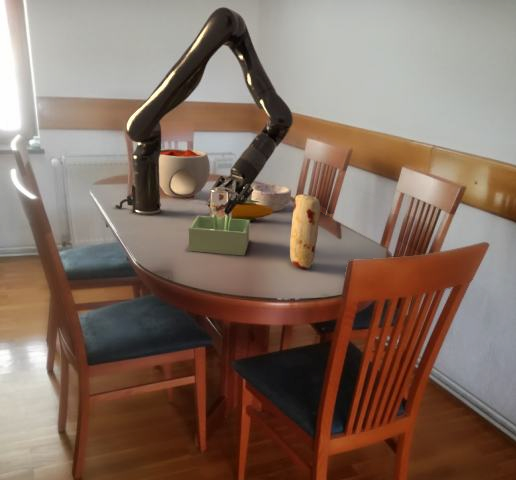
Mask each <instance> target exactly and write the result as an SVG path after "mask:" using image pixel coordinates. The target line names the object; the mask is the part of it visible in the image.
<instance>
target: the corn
mask: <svg viewBox="0 0 516 480" xmlns="http://www.w3.org/2000/svg"><path fill="white" fill-rule="evenodd" d="M254 202H259V201H254V200H252V199H247V200H246V201H245V203H244V204H243V205H240V204H238V205H236V206H235V207H234V208H233V212H232V217H231V219H243V220H250V222H252V221H256V220H257V219H261V218H264V217H268V216H271V215H272V214H273V213H274V211H273V210H272V209H270V208H269V207H268V206H264V205H259V204H256V203H254Z"/></svg>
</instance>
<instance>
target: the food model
mask: <svg viewBox="0 0 516 480" xmlns="http://www.w3.org/2000/svg"><path fill="white" fill-rule="evenodd" d="M320 217H321V204H320V199H318V198H317V197H316V196H311V195H309V194H307V193H305V194H297V195H296V196H295V198H294V205H293V212H292V221H291V231H290V242H289V257H290V261H291V264H292V265H293V266H294V267H296V268H298V269H300V270H306V269H307V270H308V269H310V268H311V265H312V264H313V262H314V260H315V256H316V255H315V254H316V248H317V240H318V235H319V234H318V233H319V224H320Z"/></svg>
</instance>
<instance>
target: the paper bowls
mask: <svg viewBox="0 0 516 480" xmlns="http://www.w3.org/2000/svg"><path fill="white" fill-rule="evenodd" d="M252 188H253V189H254V190H253V192H252V193H251V200H254V201H259V202H253V203H254V204H259V205H264V206H268V207H269V208H270V209H272V210H273V212H280V211H282V210H283V209H285V206H286V205H289V204H290V203H291V198H292V196H291V195H292V190H291V189H290V188H289V187H287V186H284V185H279V184H278V185H277V184H257V185H253V186H252Z"/></svg>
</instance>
